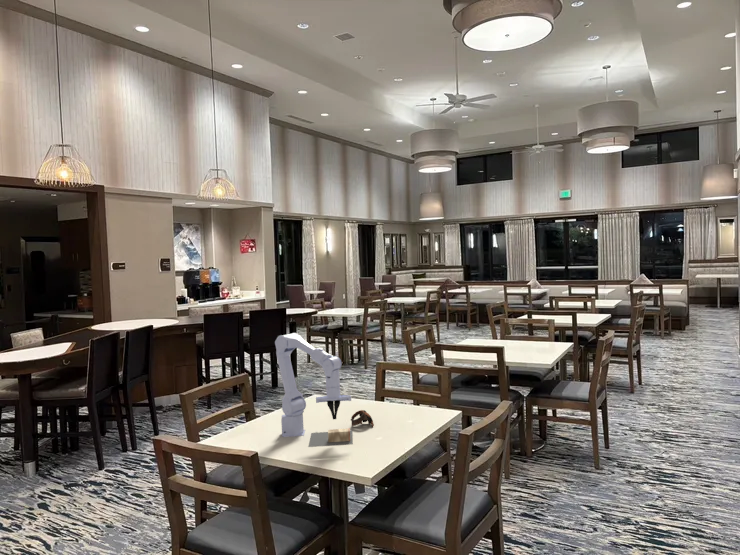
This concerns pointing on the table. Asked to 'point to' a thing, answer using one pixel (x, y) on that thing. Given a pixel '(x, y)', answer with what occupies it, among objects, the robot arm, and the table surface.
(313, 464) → the table surface
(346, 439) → the maple block
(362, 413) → the brown curved piece
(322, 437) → the charcoal mat
